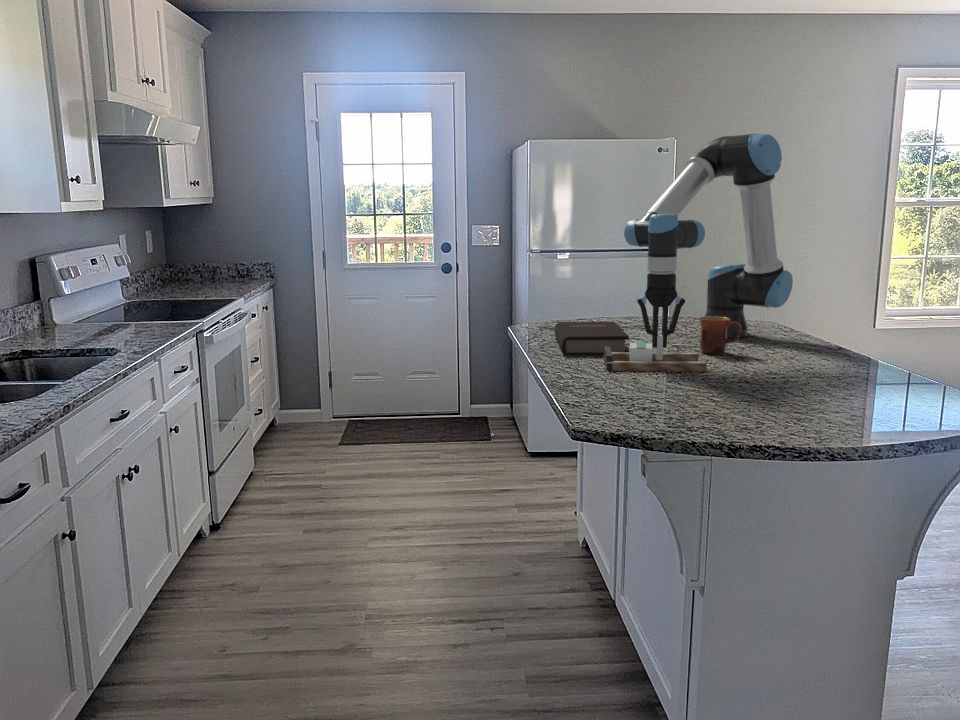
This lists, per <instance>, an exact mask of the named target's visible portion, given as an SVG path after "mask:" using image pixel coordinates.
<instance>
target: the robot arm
mask: <svg viewBox="0 0 960 720" xmlns="http://www.w3.org/2000/svg"><path fill="white" fill-rule="evenodd" d="M782 155H783V154H782V150H781V146H780V144H779V141H778V140H777V139H776V138H775V137H774V136H773V135H772V134H768V133H749V134H739V135H725V136H719V137H717V138H715V139H713V140H711V141H709V142H708V143H706V144H705V145H703V146H702V147H700V148H699V149H698V150H697V151H696V152H694V154H692V156H691V157H690V158H689V159H688V160H687V161H686V162H685V165H684V170H683V171H682V172H681V173H680V174H679V175H678V176H677V177H676V179H674V181H673V182H672V183H671V184H670V185H669V186H668V188H667V189H666V190H665V191H664V192H663V193H662V194H661V196H660V197H659V198H658V199H657V200H656V201H655V202H654V204H652V206H651V207H650V208H649V209H648V210H647V211H646V213H645V214H644V215H643V216H642V217H641V218H640V219H638V218H636V219H631V220H629V221H628V222H627V223H626V224H625V225H624V231H623V236H624V239H625V242H626V244H628V245H629V246H632V247H633V246H635V247H639V248H642V247H645V248H648V250H647V251H648V252H647V271H648V272H649V273H647V274H646V290H645V293H644V295H642V296H641V297H638V298H637V299H636V302H637V304H638V305H639V307H640V312H641V316H642V321H643V326H644V329H645V332H646V334H648V335H651V338H652V339H651V343H652V349H653V348H654V349H655V353H656V360H662V355H663V353H664V352H663V350H664V348H667V346H668V336H669V335H672V334H675V331H676V327H677V323H678V320H679V317H680V313H681V309H682V307H683V306H684V305H685V303H686V299H685V298H683V297H681V296H680V295H678V292H677V288H676V282H677V275H676V273H675V272H676V271H677V261H678V260H677V258H678V257H677V255H678V254H677V253H678V252H677V251H678V249H692V248H695V247H699V246H700V245H701V244H702V243H703V242H704V239H705V235H706V232H705V231H706V229H705V226H704V225H703V224H702V222H700V221H698V220H693V219H687V220H679V218H678V216H680V214H681V213H682V212H683V211H684V209H685V208H686V207H687V206H688V205H689V204H690V203H691V201H692V200H693V199H694V198H695V196H697V194H698V193H699V191H701V190H702V189H703V187H705V185H709V184H711V183H712V182H713V180H714V179H716V178H719V177H732V180H733V185H734V186H735V187H737V188H738V189H739V193H740V195H739V196H740V203H741V210H742V221H743V230H744V237H745V246H746V247H745V249H746V255H747V263H746V264H745V263H738V264H737V263H735V264H726V265H725V264H724V265H718V266H715V265H714V266H712V267H710V268H709V270H708V275H707V294H706V312H705V314H704V317H705V316H719V317H727V318H730V321H735V322H738V323H740V325H741V334H740V336H739V338H745V337H747V336H748V335H749V334H748V333H749V327H748V325H747V321H746V317H745V314H744V306H750V307H751V306H752V307H761V308H762V307H763V308H767V309H768V308H769V309H770V308H772V309H773V308H780V307H783V306H784V305H785V304H786V303H787V301H788V300H789V298H790V296H791V292H792V289H793V274H792V273H791V272H790V271H788V270H785V269H784V262H783V261H782V260H781V259H779V258H778V253H777V243H776V242H777V241H776V240H777V239H776V233H775V223H774V221H775V219H774V210H773V202H772V201H773V200H772V192H771V191H772V190H771V183H772V182H773V181H774V179H776V176H775V174H777V173H778V172H779V171H780V168H781V166H782V165H781V164H782V163H781V162H782V159H783V158H782V157H783V156H782ZM647 301H648V302H649V304H650V305H651V306H652V320H651V321H652V323H650V321H649V315H648V311H647V307H646V304H647ZM674 301H675V302H674ZM673 302H674V303H675V306H674V309H673V312H672V316H671V320H670V323H669V310H670V309H669V307H670V306H671V305H672V303H673ZM660 308H661V310H662V311H661V313H662V315H661V334H659V311H660ZM651 324H652V328H651ZM668 325H669V326H668ZM699 330H700V331H699V332H700V333H699V334H700V335H701V326H700V328H699ZM737 332H738V326H737V325H735V324H733V325H730V326H728V327H727V338H728V339H733V338H735V337H736V335H737ZM739 338H738V339H739Z"/></svg>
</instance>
